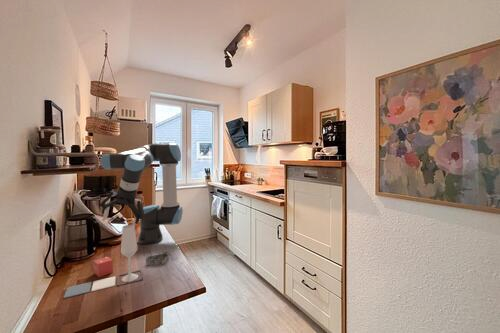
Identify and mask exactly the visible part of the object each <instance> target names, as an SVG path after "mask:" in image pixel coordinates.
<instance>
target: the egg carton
mask: <svg viewBox="0 0 500 333" xmlns="http://www.w3.org/2000/svg"><path fill="white" fill-rule="evenodd" d="M168 260H169V251H163V252H162V253H158V254H153V255H147V257H146V258H145V264H146V265H147V266H151V265H154V266H156V265H159V264H161V265H164V264H166V263H168Z"/></svg>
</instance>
